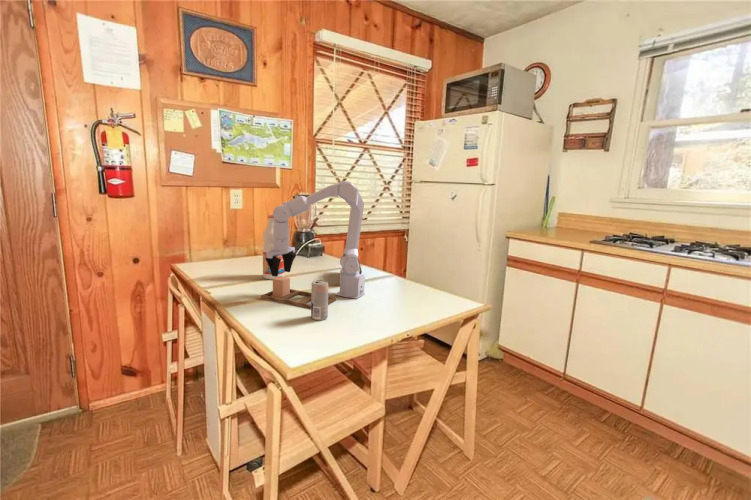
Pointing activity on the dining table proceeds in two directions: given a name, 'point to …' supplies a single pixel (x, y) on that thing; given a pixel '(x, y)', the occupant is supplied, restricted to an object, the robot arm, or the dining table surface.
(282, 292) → the terracotta block
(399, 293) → the dining table surface
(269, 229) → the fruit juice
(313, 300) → the energy drink
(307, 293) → the wooden divided frame
